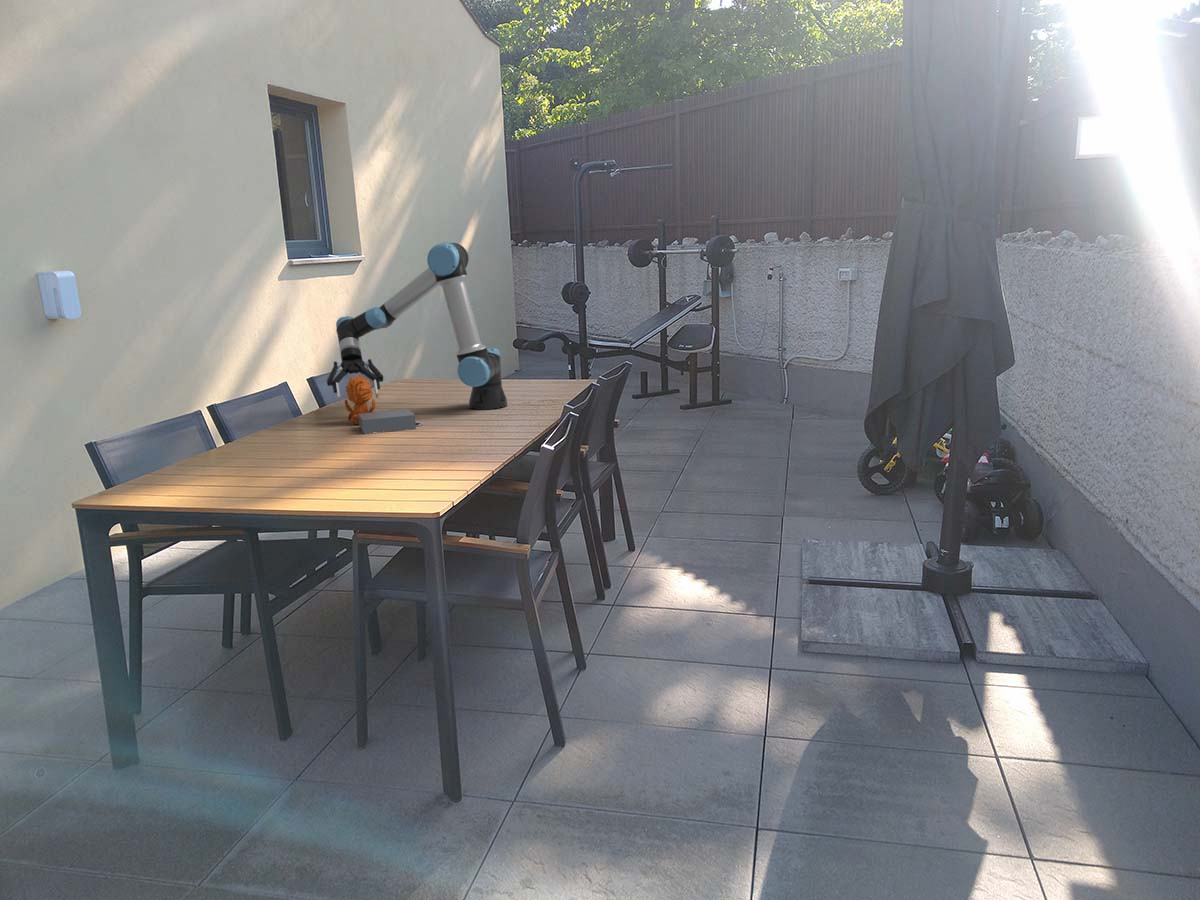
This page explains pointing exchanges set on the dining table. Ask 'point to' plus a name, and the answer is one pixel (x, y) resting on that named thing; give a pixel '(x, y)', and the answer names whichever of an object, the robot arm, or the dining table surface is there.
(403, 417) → the base brick
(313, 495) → the dining table surface
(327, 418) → the dining table surface
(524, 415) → the dining table surface
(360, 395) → the orange upright figure
